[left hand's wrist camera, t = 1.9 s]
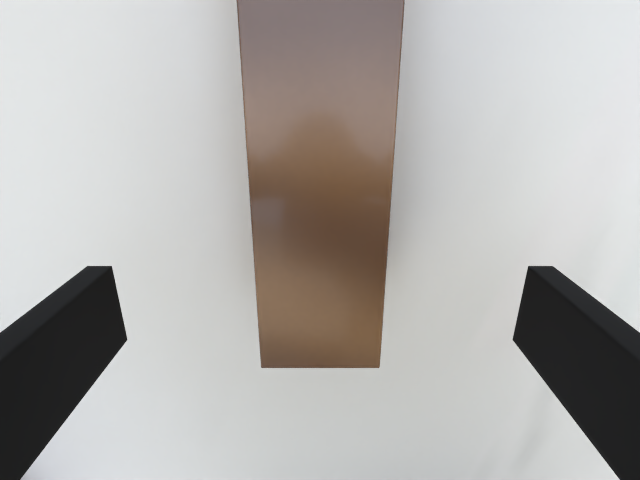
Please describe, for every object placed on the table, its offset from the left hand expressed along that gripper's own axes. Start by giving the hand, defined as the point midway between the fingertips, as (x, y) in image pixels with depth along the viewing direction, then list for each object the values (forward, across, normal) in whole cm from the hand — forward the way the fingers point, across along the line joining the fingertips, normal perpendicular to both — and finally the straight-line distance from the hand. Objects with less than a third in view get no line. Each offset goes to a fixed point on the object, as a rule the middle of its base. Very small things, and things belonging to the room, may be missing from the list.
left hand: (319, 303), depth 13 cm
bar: (+12, 0, -25) cm, 28 cm away
